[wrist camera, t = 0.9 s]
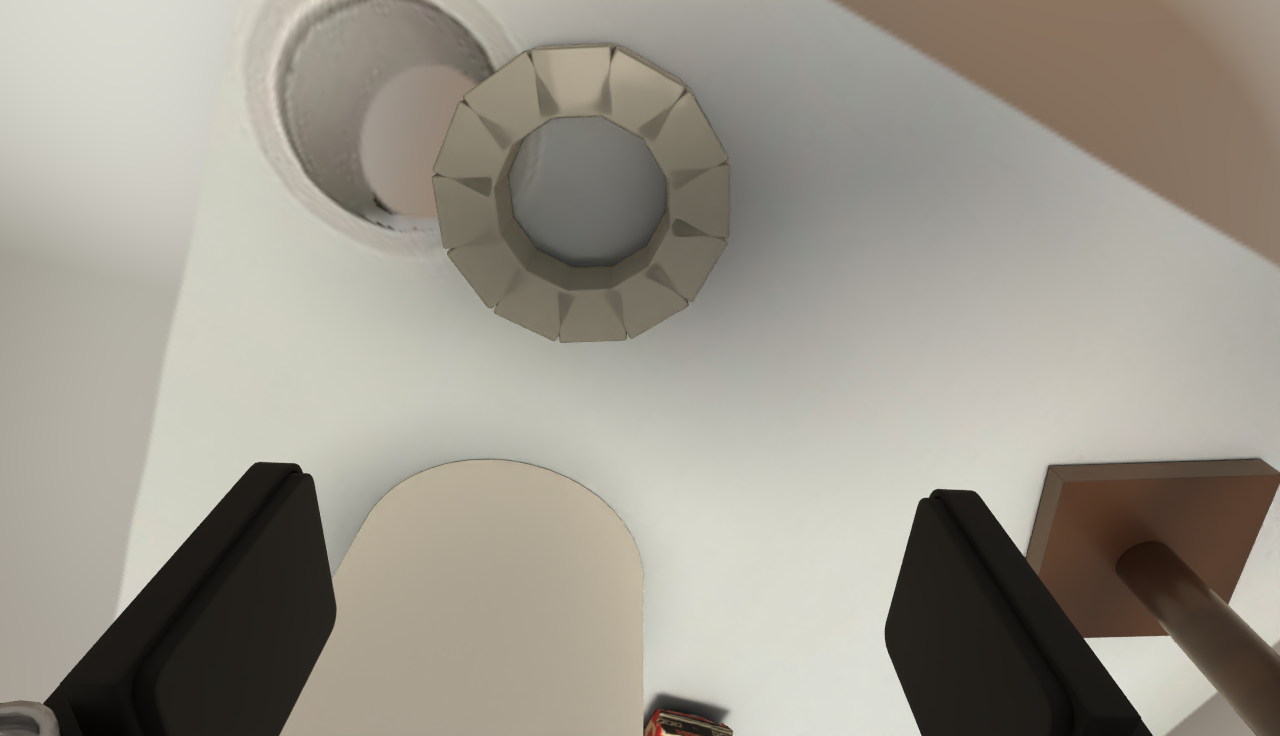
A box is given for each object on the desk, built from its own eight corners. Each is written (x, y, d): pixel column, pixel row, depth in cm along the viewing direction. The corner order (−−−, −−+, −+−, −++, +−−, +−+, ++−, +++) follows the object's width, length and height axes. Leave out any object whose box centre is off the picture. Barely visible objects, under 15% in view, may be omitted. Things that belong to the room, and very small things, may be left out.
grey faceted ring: (723, 38, 23) (732, 39, 21) (720, 311, 27) (728, 337, 25) (433, 51, 23) (410, 53, 21) (474, 319, 28) (459, 347, 25)
